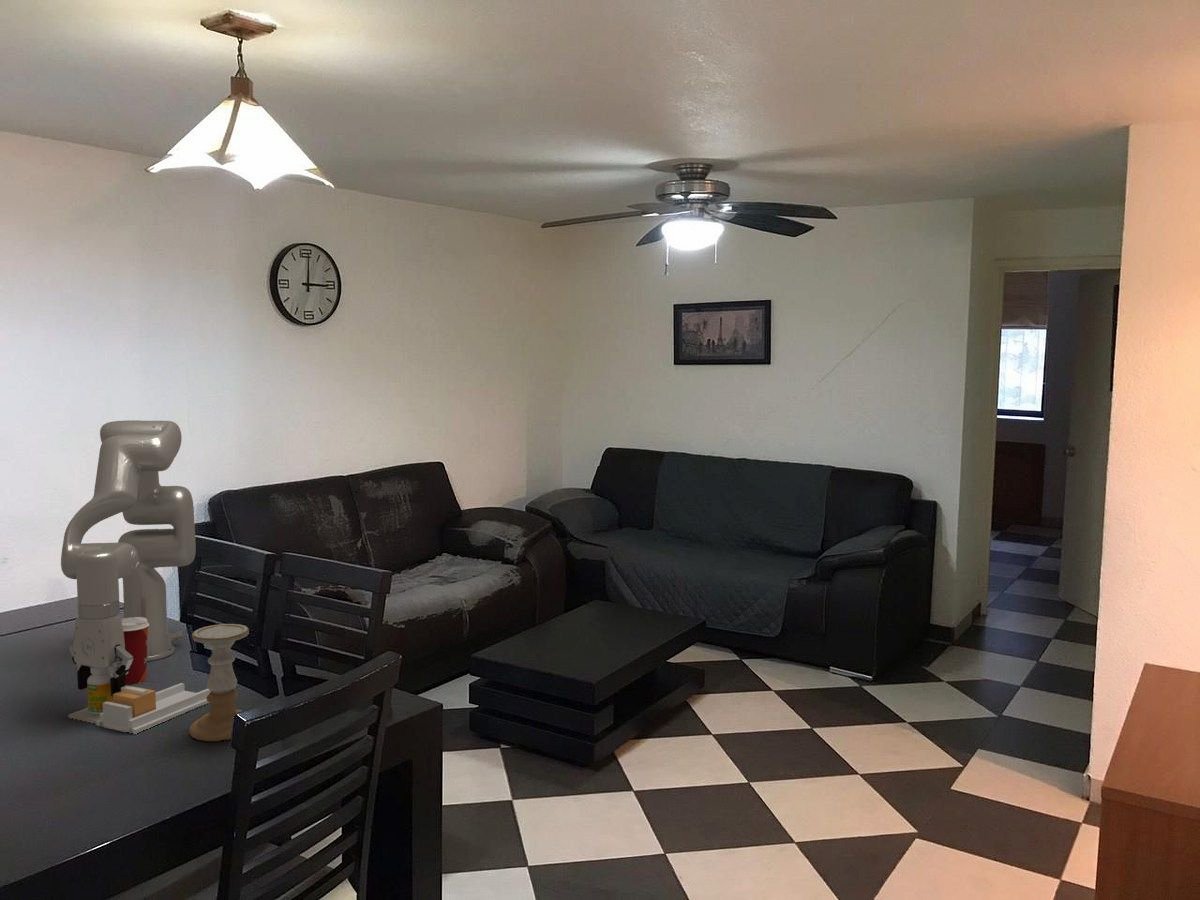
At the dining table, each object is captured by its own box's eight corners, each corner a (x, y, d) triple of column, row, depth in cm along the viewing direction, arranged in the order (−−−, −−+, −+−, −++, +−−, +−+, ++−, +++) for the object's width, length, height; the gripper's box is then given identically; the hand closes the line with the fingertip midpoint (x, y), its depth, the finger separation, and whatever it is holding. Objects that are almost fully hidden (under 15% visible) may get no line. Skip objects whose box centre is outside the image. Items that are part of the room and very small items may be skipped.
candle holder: (191, 746, 174) (188, 643, 172) (187, 724, 185) (184, 626, 183) (260, 735, 180) (257, 634, 178) (252, 714, 191) (250, 619, 189)
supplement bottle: (83, 715, 187) (81, 669, 186) (95, 706, 193) (93, 661, 192) (110, 715, 188) (109, 668, 187) (122, 705, 193) (120, 660, 192)
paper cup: (158, 678, 212) (156, 618, 211) (129, 688, 205) (127, 627, 204) (135, 673, 216) (133, 614, 214) (105, 682, 209) (103, 622, 207)
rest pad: (107, 703, 196) (106, 700, 196) (137, 709, 192) (137, 706, 192) (68, 717, 188) (67, 714, 188) (98, 724, 184) (98, 721, 184)
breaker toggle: (135, 710, 189) (134, 682, 189) (156, 714, 187) (155, 686, 186) (113, 718, 184) (112, 690, 184) (135, 723, 182) (134, 694, 182)
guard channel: (178, 693, 202) (177, 671, 202) (215, 701, 198) (214, 678, 197) (96, 725, 184) (95, 701, 183) (135, 734, 179) (134, 709, 179)
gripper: (53, 609, 188) (56, 690, 190) (112, 619, 181) (115, 703, 183) (86, 601, 195) (89, 679, 197) (144, 610, 188) (147, 691, 190)
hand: (102, 691), depth 190 cm, fingers open, 9 cm apart
